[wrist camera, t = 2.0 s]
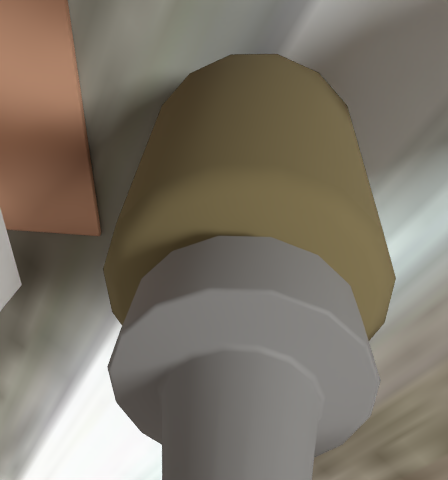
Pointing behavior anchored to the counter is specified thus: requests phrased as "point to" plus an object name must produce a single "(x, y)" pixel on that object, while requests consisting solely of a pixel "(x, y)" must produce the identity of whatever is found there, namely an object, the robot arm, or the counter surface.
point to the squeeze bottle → (248, 276)
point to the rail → (43, 123)
